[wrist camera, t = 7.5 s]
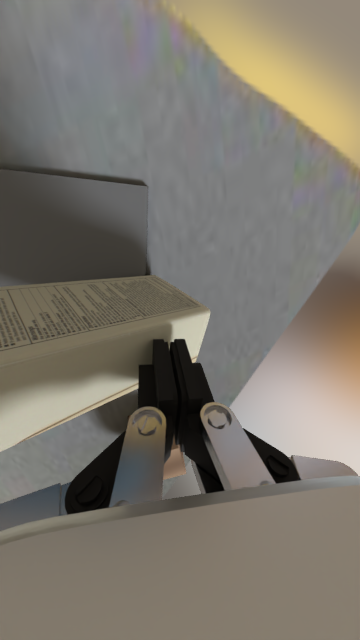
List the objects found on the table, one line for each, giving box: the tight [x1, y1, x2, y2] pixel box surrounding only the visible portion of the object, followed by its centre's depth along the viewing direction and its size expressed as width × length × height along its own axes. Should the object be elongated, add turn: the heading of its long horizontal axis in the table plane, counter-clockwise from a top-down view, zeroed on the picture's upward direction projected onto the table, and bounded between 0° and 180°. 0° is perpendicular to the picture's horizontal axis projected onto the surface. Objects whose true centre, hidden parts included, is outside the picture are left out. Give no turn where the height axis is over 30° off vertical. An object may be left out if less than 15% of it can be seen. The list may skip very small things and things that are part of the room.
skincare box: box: [0, 275, 210, 452], centre depth 12 cm, size 6×4×12 cm
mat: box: [0, 169, 148, 287], centre depth 17 cm, size 16×13×1 cm
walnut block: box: [128, 415, 186, 480], centre depth 24 cm, size 5×5×5 cm
